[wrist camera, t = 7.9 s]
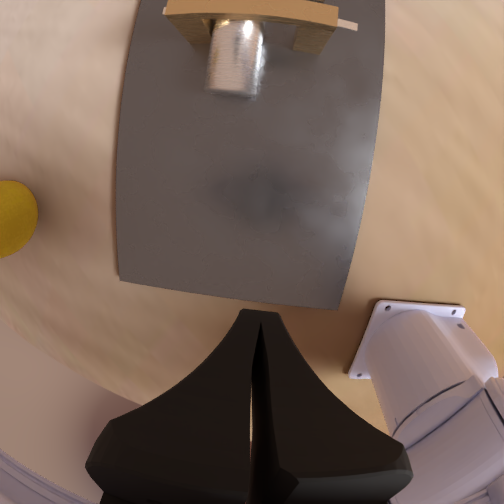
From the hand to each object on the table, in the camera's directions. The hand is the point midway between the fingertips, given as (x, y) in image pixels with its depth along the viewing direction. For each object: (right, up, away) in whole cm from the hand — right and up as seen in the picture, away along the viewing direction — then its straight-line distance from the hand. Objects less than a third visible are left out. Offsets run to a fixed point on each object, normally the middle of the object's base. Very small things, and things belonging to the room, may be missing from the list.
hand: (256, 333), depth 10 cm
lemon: (-18, +7, +9) cm, 21 cm away
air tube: (0, +18, +2) cm, 18 cm away
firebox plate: (0, +12, +6) cm, 13 cm away
